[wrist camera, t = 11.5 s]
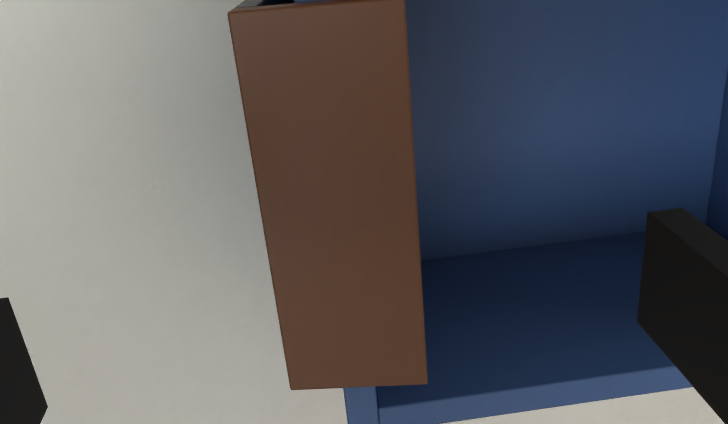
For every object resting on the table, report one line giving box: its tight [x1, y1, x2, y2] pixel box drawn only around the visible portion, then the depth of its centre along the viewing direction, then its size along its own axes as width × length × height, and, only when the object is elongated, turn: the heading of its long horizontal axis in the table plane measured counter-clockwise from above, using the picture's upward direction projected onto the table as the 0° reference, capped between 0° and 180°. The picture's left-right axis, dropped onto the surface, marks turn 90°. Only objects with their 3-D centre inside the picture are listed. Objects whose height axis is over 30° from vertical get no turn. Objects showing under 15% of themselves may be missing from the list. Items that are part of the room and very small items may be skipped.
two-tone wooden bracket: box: [228, 0, 428, 390], centre depth 21 cm, size 4×11×7 cm, turn 5°
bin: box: [294, 0, 728, 424], centre depth 23 cm, size 18×16×10 cm
